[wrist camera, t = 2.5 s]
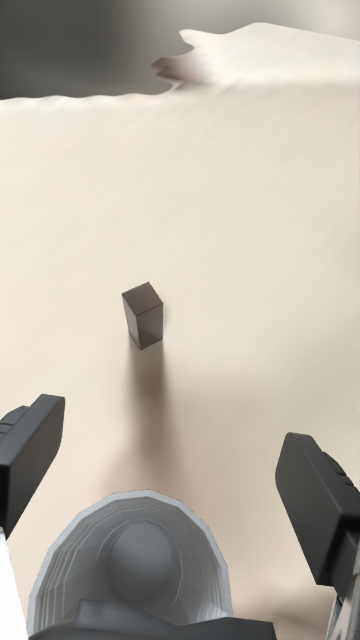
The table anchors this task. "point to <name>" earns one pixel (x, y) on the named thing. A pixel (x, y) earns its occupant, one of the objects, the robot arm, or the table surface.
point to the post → (144, 315)
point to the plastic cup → (133, 563)
